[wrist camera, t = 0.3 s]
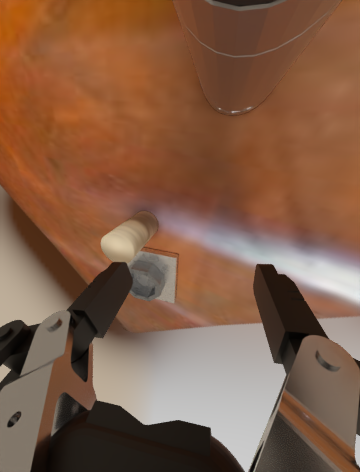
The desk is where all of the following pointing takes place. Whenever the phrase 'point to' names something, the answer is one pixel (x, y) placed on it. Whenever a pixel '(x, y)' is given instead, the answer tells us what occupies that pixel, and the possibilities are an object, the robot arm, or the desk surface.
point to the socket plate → (164, 266)
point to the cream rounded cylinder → (129, 237)
